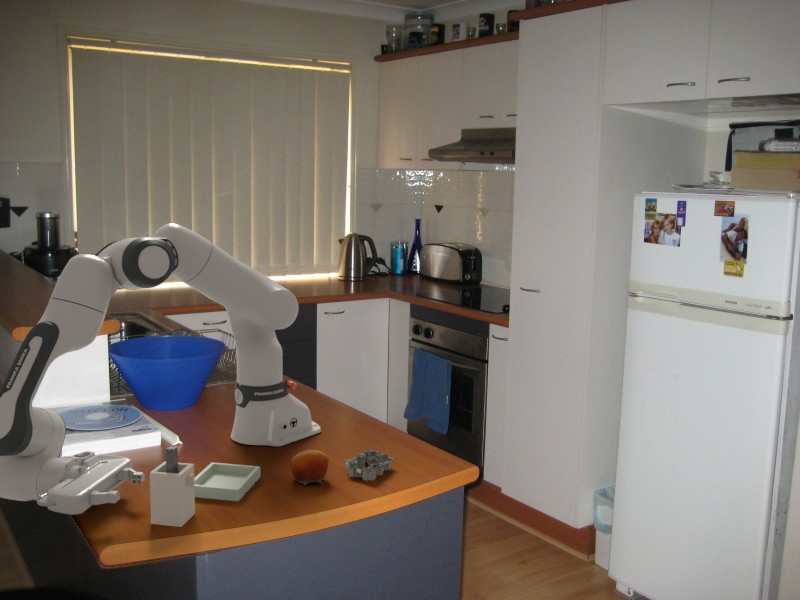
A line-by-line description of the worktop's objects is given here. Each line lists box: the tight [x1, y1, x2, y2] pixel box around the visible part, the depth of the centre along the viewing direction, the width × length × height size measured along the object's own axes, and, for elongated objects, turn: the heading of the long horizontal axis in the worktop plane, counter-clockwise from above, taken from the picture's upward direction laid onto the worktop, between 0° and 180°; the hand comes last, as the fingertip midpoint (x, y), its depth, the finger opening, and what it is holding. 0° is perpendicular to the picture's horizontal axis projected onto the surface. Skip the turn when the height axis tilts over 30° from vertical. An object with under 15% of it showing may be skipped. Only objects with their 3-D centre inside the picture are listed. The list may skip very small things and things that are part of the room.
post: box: [165, 445, 179, 474], centre depth 150 cm, size 2×2×14 cm
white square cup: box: [149, 460, 196, 528], centre depth 150 cm, size 6×7×10 cm
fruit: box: [290, 449, 330, 486], centre depth 170 cm, size 8×8×8 cm
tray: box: [194, 462, 261, 502], centre depth 166 cm, size 13×11×2 cm
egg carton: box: [344, 447, 394, 482], centre depth 176 cm, size 11×8×4 cm
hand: (130, 487), depth 152 cm, fingers open, 8 cm apart
